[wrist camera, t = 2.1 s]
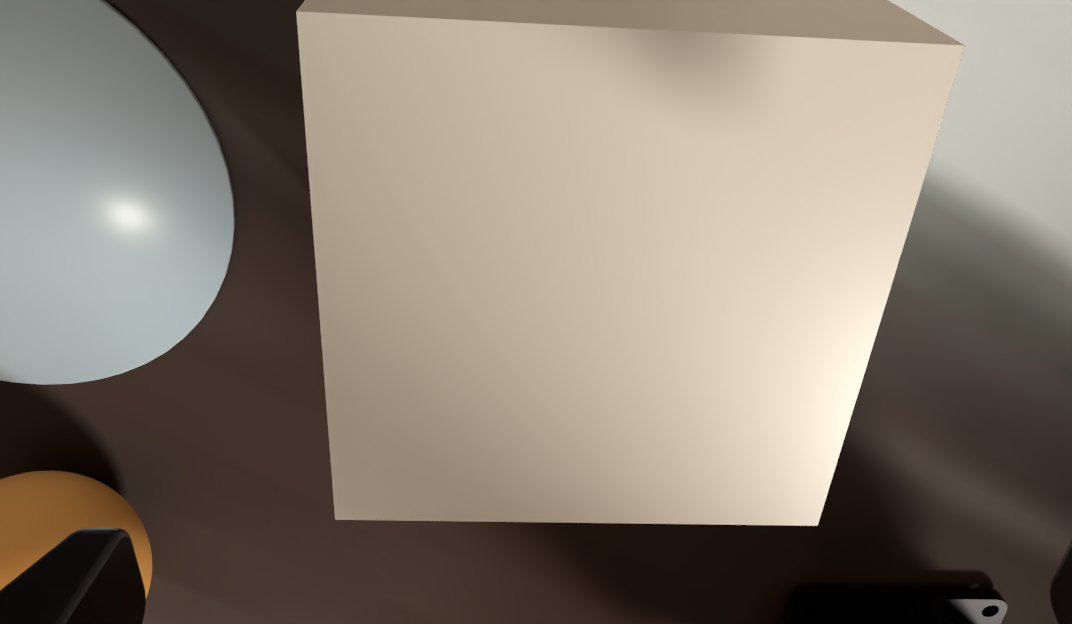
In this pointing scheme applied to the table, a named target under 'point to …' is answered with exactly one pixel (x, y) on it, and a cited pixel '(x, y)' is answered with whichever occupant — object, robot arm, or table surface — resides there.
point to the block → (606, 248)
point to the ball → (60, 518)
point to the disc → (101, 196)
